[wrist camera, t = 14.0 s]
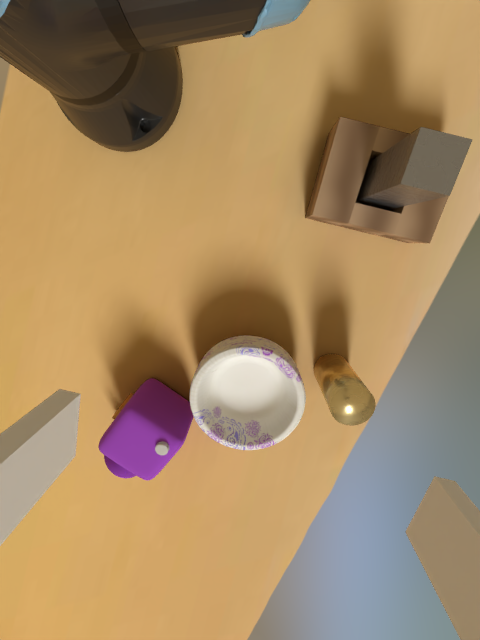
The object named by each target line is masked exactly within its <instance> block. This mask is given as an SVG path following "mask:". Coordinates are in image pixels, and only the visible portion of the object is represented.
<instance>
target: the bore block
mask: <svg viewBox="0 0 480 640" xmlns="http://www.w3.org/2000/svg"><path fill="white" fill-rule="evenodd" d="M408 135H410V134H408V133H404V132H400V131H396V130H392V129H388V128H384V127H380V126H376V125H372V124H368V123H364V122H360V121H356V120H352V119H348V118H344V117H340V118H339V120H338V121H337V122H336V124H335V125H334V127H333V128H332V130H331V131H330V133H329V135H328V138H327V142H326V146H325V149H324V153H323V156H322V160H321V163H320V167H319V171H318V174H317V178H316V181H315V185H314V188H313V192H312V196H311V199H310V203H309V206H308V210H307V214H306V217H305V218H308V219H312V220H316V221H320V222H324V223H328V224H332V225H336V226H341V227H345V228H349V229H353V230H357V231H361V232H365V233H369V234H373V235H378V236H382V237H386V238H390V239H394V240H398V241H402V242H406V243H430V241H431V239H432V236H433V234H434V231H435V229H436V226H437V224H438V221H439V219H440V217H441V214H442V212H443V209H444V207H445V204H446V202H447V199H448V197H449V196H447V197H442V198H438V199H434V200H429V201H425V202H420V203H416V204H411V205H407V206H403V207H398V208H394V209H389V210H384V209H379V208H375V207H371V206H367V205H363V204H359V203H355V202H356V199H357V196H358V193H359V190H360V187H361V183H362V180H363V177H364V174H365V171H366V168H367V165H368V163H369V162H370V161H372V160H373V159H375V158H376V157H378V156H379V155H380V154H382V153H383V152H385V151H386V150H388V149H389V148H391V147H392V146H394V145H395V144H397V143H398V142H399V141H401V140H402V139H404V138H405V137H407V136H408Z"/></svg>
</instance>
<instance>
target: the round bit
mask: <svg viewBox="0 0 480 640" xmlns="http://www.w3.org/2000/svg"><path fill="white" fill-rule="evenodd" d="M314 375H315V377H316V379H317V382H318V384H319V386H320V388H321V391H322V393H323V395H324V398H325V400H326V402H327V404H328V407H329V409H330V411H331V414H332V416H333V417H334V418H335V419H336V420H337V421H338V422H340V423H342V424H344V425H358V424H361V423H363V422H365V421H367V420H368V419H369V418H370V417H371V416H372V414H373V413H374V410H375V399H374V397H373V395H372V394H371V393H370V391H369V390H368V389H367V387H366V386H365V385H364V383H363V382H362V381H361V379H360V378H359V377H358V375H357V374H356V373H355V371H354V370H353V369H352V367H351V366H350V365H349V363H348V362H347V361H346V360H345V358H343V357H342V356H340V355H338V354H327V355H324V356H322V357H321V358H319V359H318V360H317V362H316V363H315V366H314Z"/></svg>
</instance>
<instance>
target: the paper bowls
mask: <svg viewBox="0 0 480 640" xmlns="http://www.w3.org/2000/svg"><path fill="white" fill-rule="evenodd" d="M305 401H306V395H305V388H304V384H303V381H302V378H301V376H300V372H299V370H298V368H297V366H296V364H295V362H294V360H293V359H292V357H291V356H290V355H289V353H288V352H287V351H286V350H284V349H283V348H282V347H281V346H279V345H278V344H276V343H275V342H273V341H271V340H268V339H266V338H262V337H258V336H249V335H243V336H235V337H231V338H228V339H225V340H223V341H221V342H219V343H218V344H216V345H215V346H213V347H212V348H211V349H210V350H209V351H208V352H207V353H206V354H205V355H204V357H203V358H202V360H201V361H200V363H199V365H198V368H197V370H196V372H195V374H194V377H193V379H192V382H191V386H190V406H191V410H192V413H193V416H194V418H195V420H196V422H197V423H198V425H199V426H200V428H201V429H202V430H203V431H204V432H205V433H206V434H207V435H208V436H209V437H211V438H212V439H213V440H215V441H217V442H218V443H221V444H223V445H225V446H228V447H231V448H235V449H240V450H256V449H262V448H266V447H269V446H272V445H274V444H276V443H278V442H280V441H282V440H283V439H284V438H286V437H287V436H288V435H289V434H290V433H291V432H292V431H293V430H294V429H295V428H296V426H297V425H298V423H299V421H300V420H301V417H302V415H303V412H304V408H305Z"/></svg>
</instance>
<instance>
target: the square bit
mask: <svg viewBox="0 0 480 640" xmlns="http://www.w3.org/2000/svg"><path fill="white" fill-rule="evenodd" d="M471 142H472V139H468V138H464V137H460V136H456V135H452V134H448V133H444V132H440V131H436V130H432V129H427V128H423V127H420V128H419V129H417V130H416V131H414V132H413V133H411V134H410V135H408V136H407V137H405V138H404V139H402V140H401V141H399V142H398V143H397V144H395V145H394V146H392V147H391V148H389V149H388V150H386V151H385V152H383V153H382V154H380V155H379V156H378V157H376V158H375V159H373V160H372V161H370V162H369V163H368V165H367V168H366V171H365V174H364V177H363V180H362V183H361V187H360V190H359V193H358V196H357V199H356V202H355V203H359V204H363V205H367V206H371V207H375V208H379V209H384V210H389V209H394V208H398V207H403V206H407V205H411V204H416V203H420V202H425V201H429V200H434V199H438V198H442V197H447V196H450V194H451V191H452V189H453V186H454V184H455V181H456V179H457V176H458V174H459V172H460V169H461V167H462V164H463V162H464V159H465V157H466V154H467V152H468V149H469V147H470V144H471Z"/></svg>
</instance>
